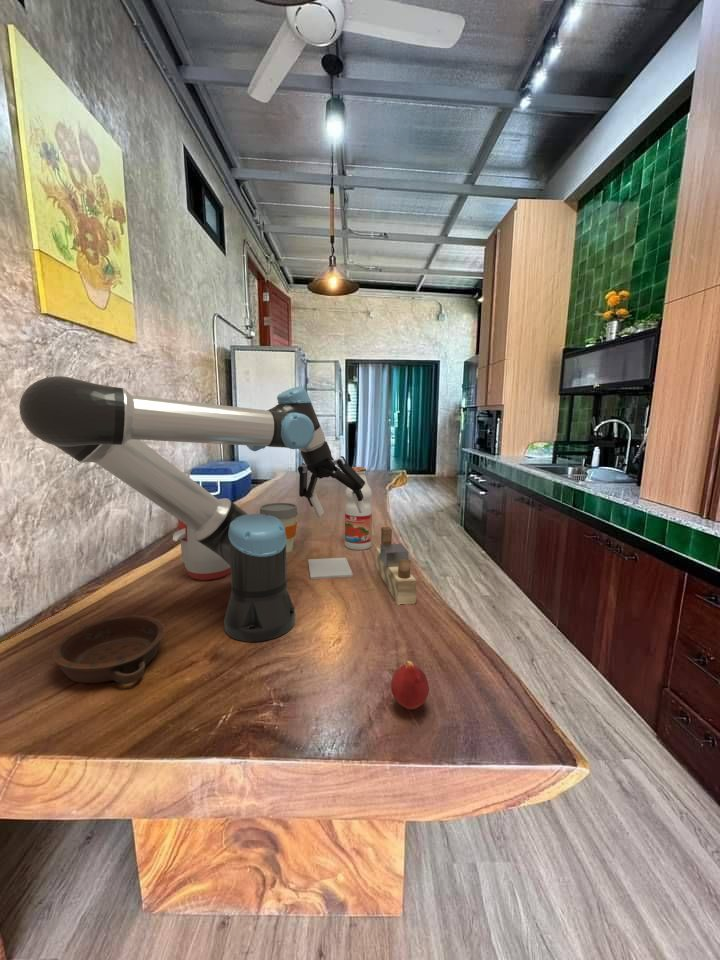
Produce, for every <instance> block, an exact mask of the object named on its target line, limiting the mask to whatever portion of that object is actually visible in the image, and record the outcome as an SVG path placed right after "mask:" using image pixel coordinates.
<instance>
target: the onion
mask: <svg viewBox="0 0 720 960" xmlns="http://www.w3.org/2000/svg"><path fill="white" fill-rule="evenodd" d="M390 688H391V694H392V696H393V698H394V699H395V701H396V702H397V703H398V704H399V705H400V706H402V707H403V708H405V709H406V710H409V711H410V710H414V709H415V710H416V709H417V708H419V707H421V706H422V705H424V703H426V701H427V698H428V697H429V693H430V685H429V681H428V678H427V676H426V674H425V673H424V671H423V670H422V669H421V668H420V667H418V666H417V665H415V664H413V662H412V661H411V660H406V661H405V664H404V665H401V666H400V667H399V668H398V669H397V670H396V671H395V672H394V674H393V677H392V678H391V682H390Z"/></svg>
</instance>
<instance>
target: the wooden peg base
mask: <svg viewBox="0 0 720 960" xmlns="http://www.w3.org/2000/svg"><path fill="white" fill-rule="evenodd" d="M380 530H381V532H380V535H381V536H380V545H381V544H393V543H392V541H393V540H392V537H393V535H392V534H393V533H392V531H393V529H392V528H391V527H390V526H382V527H381V528H380ZM380 548H381V546H375V554H374V555H375V561H374V562H375V564H374V565H375V569H376V570H377V571H378V572H377V573H379V575H380V577H381V578H382V580H383V582H384V584H385V586H386V585H387V586H386V588H387V589H388V591H389V593H390V592H391V593H390V594H391V596H392V598H393V600H394V601H395V603H396V604H397V606H401V605H400V604H405V605H415V603H417V600H416V599H417V583H418V582H417V581H418V580H417V579H416V578H415V576H414V575H413V574H412V573H411V560H410V559H409V558H408V559H400V560H398V567H386V566H385V565H384V563H383V562H382V560H381V558H380Z"/></svg>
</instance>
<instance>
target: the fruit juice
mask: <svg viewBox="0 0 720 960" xmlns="http://www.w3.org/2000/svg"><path fill="white" fill-rule="evenodd" d="M351 468H352V469H353V470H354V471H355V472H356V473H357V474H358V475H359V476H360V477H361V478H362V479H363V480H364V481H365V485H364V486H363V488H362V489H361V491H362V494H363V499H362V501H363V503H364V506H365V508H364V510H363V512H362V513H359V511H358V508H357V506H356V503H355V501H354V498H353V496H352V491H353V490H351V489H350V488H348V487H347V486H346V489H345V492H344V493H345V499H346V502H345V505H344V506H345V507H344V545H345V548H347V549H350V550H352V551H364V550H367V549H370V548H371V546H372V533H373V532H372V531H373V530H372V529H373V528H372V525H373V522H372V521H373V519H372V517H373V509H372V503H371V499H372V495H373V493H372V492H373V491H372V488H371V487H370V485H369V482H368V480H367V479H368V478H367V476H366V472H367V468H366V467H363V466H354V467H353V466H352V467H351Z"/></svg>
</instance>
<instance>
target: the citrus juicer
mask: <svg viewBox="0 0 720 960" xmlns="http://www.w3.org/2000/svg"><path fill="white" fill-rule="evenodd" d="M177 523H178V524H177V525H178V531H176V532H174V533H173V536H172V541H174V542H178V541H180V550H181V558H182V560H183V565H184V567H185V570H186V572H187V574H188V575H189V577H190V578H192V579H195V580H200V581H202V580H204V581H208V580H216V579H219V578H220V579H221V578H223V577H226V576H227V575H230V574H231V567H230V565H229V564H228V563H227V562H226V561H225V560H224V559H223V558H221V557H220V556H219V555H218V554H216V553H215V552H213V551H212V550H210V549H209V548H207V547H206V546H204V545H203V544H201V543H200V542H198V541H197V540H195V539H194V537H193V529H192V528H190V527H189V526H187V525H186V524H184V523H183V522H181V521H180V520H179V519H177Z"/></svg>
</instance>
